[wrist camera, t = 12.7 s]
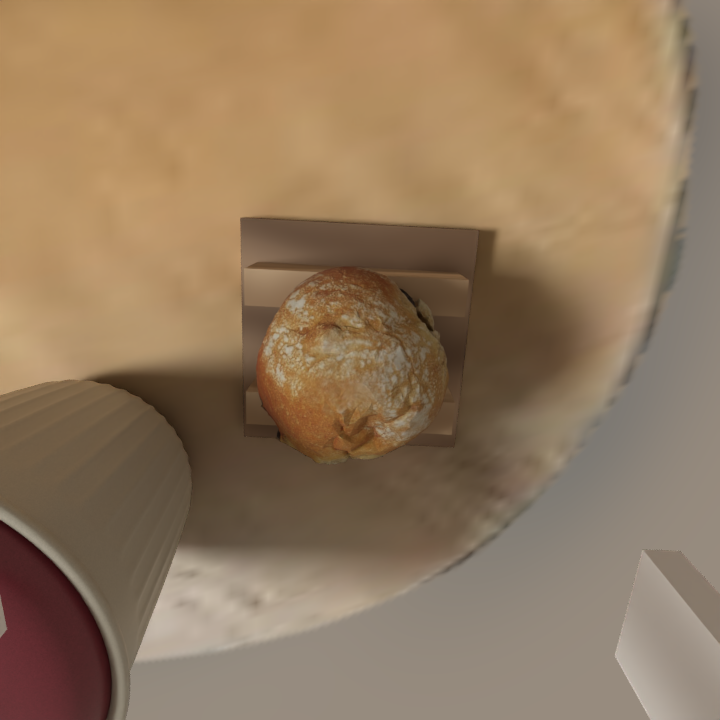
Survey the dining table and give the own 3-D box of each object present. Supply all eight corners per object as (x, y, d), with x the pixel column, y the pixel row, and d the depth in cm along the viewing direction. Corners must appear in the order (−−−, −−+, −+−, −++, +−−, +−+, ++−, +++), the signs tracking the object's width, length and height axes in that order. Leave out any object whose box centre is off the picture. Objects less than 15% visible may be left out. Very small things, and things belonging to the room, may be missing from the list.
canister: (-77, 388, 34) (-739, 652, 14) (163, 297, 32) (-194, 448, 12) (58, 596, 38) (-284, 1022, 18) (274, 529, 36) (158, 923, 16)
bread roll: (446, 354, 32) (518, 343, 24) (352, 492, 29) (397, 528, 22) (322, 253, 30) (356, 206, 22) (213, 392, 28) (208, 393, 20)
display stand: (244, 217, 30) (223, 218, 26) (475, 229, 30) (493, 232, 26) (247, 429, 34) (230, 461, 30) (451, 440, 34) (463, 473, 30)
